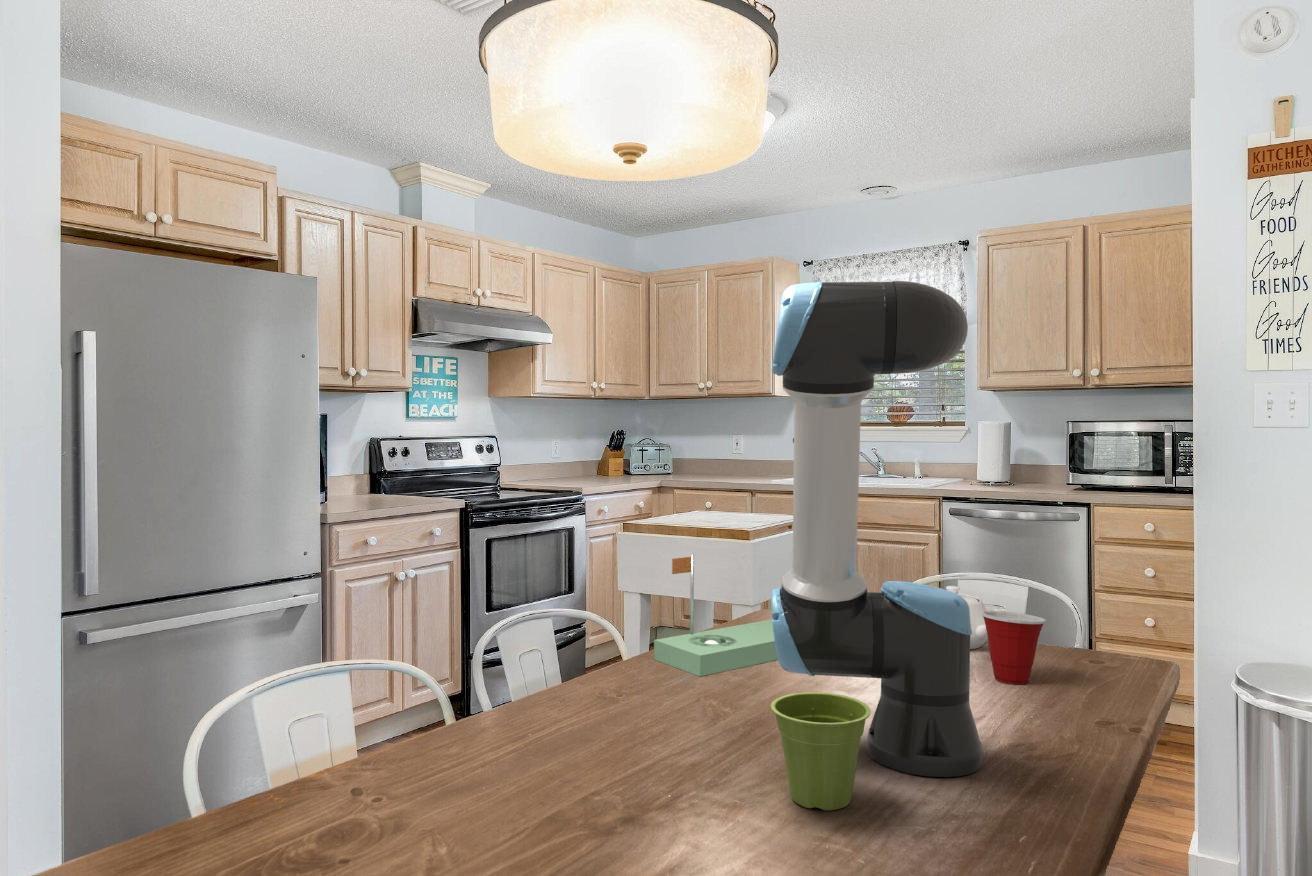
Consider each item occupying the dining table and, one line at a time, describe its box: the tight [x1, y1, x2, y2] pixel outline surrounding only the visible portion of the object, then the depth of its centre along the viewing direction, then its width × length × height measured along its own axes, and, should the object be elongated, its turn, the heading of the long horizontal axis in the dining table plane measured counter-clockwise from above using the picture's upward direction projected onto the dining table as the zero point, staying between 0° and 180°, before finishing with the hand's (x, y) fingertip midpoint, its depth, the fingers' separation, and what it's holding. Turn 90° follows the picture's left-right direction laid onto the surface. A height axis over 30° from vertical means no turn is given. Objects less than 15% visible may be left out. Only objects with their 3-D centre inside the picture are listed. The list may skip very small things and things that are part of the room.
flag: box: [671, 553, 695, 635], centre depth 169 cm, size 5×1×16 cm, turn 127°
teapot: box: [945, 585, 1009, 650], centre depth 179 cm, size 25×16×12 cm, turn 30°
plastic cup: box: [982, 610, 1047, 686], centre depth 154 cm, size 11×11×12 cm
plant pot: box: [770, 691, 871, 812], centre depth 103 cm, size 12×12×11 cm
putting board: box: [653, 619, 778, 677], centre depth 169 cm, size 32×14×4 cm, turn 127°
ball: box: [705, 640, 719, 644], centre depth 165 cm, size 4×4×4 cm
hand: (819, 528), depth 157 cm, fingers closed
